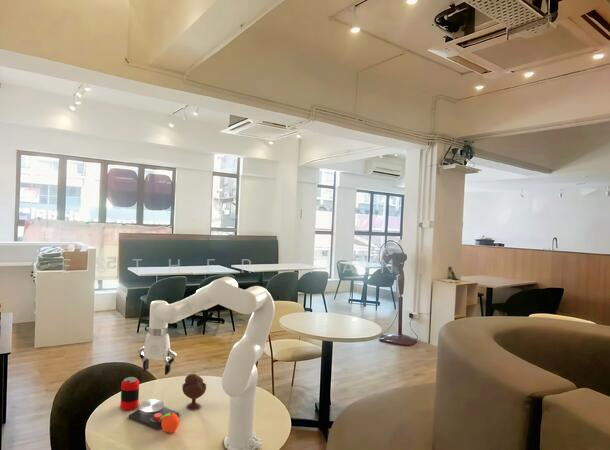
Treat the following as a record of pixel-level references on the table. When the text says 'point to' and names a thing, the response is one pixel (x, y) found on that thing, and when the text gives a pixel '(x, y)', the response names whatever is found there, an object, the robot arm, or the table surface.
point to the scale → (150, 418)
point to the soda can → (129, 393)
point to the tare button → (157, 416)
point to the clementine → (170, 422)
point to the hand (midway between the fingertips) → (156, 371)
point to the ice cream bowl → (193, 389)
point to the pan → (151, 406)
